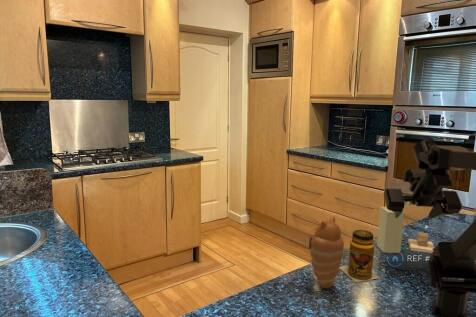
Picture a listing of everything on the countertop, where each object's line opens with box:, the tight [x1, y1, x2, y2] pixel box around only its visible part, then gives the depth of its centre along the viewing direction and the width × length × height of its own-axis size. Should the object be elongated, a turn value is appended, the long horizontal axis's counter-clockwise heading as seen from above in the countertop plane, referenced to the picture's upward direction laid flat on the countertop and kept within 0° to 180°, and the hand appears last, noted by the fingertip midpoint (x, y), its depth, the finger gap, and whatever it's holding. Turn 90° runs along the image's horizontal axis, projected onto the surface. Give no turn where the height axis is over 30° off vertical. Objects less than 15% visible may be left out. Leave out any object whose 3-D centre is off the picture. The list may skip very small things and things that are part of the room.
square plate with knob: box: [407, 232, 436, 254], centre depth 113 cm, size 7×7×4 cm
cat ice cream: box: [310, 216, 345, 289], centre depth 88 cm, size 9×8×18 cm
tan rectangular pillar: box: [376, 206, 405, 254], centre depth 111 cm, size 5×5×13 cm
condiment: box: [339, 229, 380, 283], centre depth 96 cm, size 7×8×12 cm
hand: (412, 217), depth 102 cm, fingers open, 9 cm apart
